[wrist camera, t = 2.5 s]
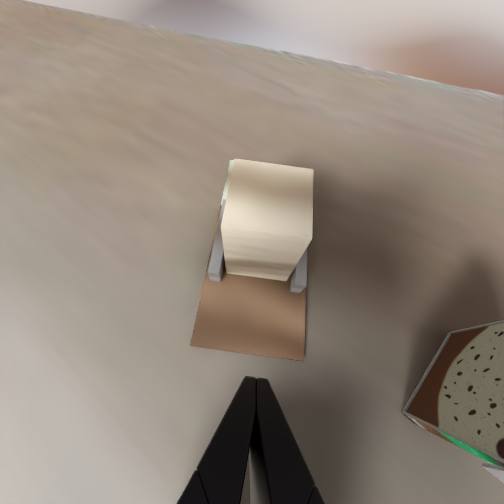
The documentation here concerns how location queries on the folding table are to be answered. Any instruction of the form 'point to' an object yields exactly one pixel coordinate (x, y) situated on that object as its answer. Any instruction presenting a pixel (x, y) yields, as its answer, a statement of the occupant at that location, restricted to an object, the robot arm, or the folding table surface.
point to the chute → (250, 307)
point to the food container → (466, 394)
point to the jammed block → (267, 219)
